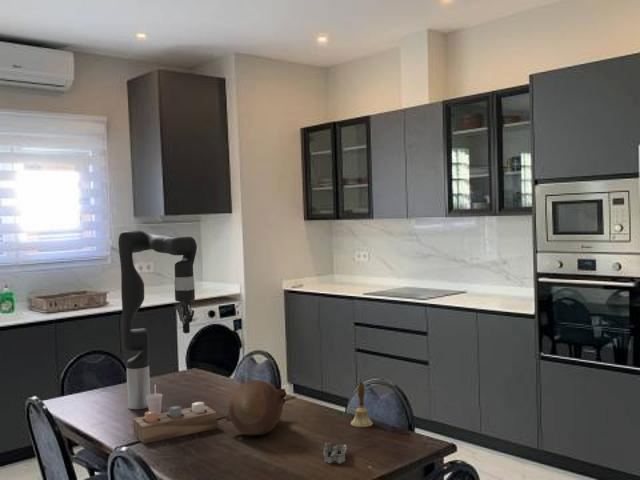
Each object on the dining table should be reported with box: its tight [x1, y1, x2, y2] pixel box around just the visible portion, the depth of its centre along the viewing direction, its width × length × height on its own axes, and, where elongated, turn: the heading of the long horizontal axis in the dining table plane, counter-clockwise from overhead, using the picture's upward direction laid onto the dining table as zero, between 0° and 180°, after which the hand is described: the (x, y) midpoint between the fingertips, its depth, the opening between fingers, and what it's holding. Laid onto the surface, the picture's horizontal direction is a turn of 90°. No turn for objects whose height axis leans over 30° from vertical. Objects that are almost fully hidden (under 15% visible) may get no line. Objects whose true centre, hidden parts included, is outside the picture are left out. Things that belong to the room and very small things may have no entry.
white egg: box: [191, 401, 205, 414], centre depth 242 cm, size 5×5×6 cm
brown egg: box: [144, 410, 158, 423], centre depth 233 cm, size 5×5×6 cm
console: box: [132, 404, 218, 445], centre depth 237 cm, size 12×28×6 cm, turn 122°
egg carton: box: [322, 441, 347, 464], centre depth 206 cm, size 10×7×4 cm
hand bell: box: [350, 381, 373, 428], centre depth 239 cm, size 8×8×16 cm
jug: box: [224, 379, 287, 436], centre depth 236 cm, size 20×20×30 cm
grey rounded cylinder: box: [168, 405, 183, 418], centre depth 237 cm, size 5×5×6 cm
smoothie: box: [146, 384, 163, 414], centre depth 252 cm, size 6×6×14 cm
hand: (186, 332), depth 246 cm, fingers closed
